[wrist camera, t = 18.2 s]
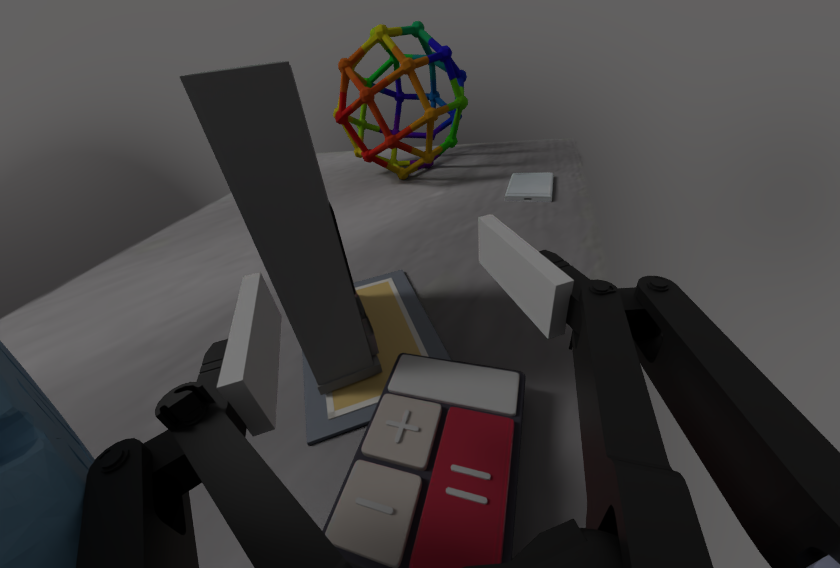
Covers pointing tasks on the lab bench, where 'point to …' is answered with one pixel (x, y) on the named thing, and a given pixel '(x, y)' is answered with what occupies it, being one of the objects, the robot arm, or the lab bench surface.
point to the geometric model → (401, 99)
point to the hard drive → (530, 187)
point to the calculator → (434, 469)
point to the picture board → (395, 333)
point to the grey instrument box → (287, 213)
